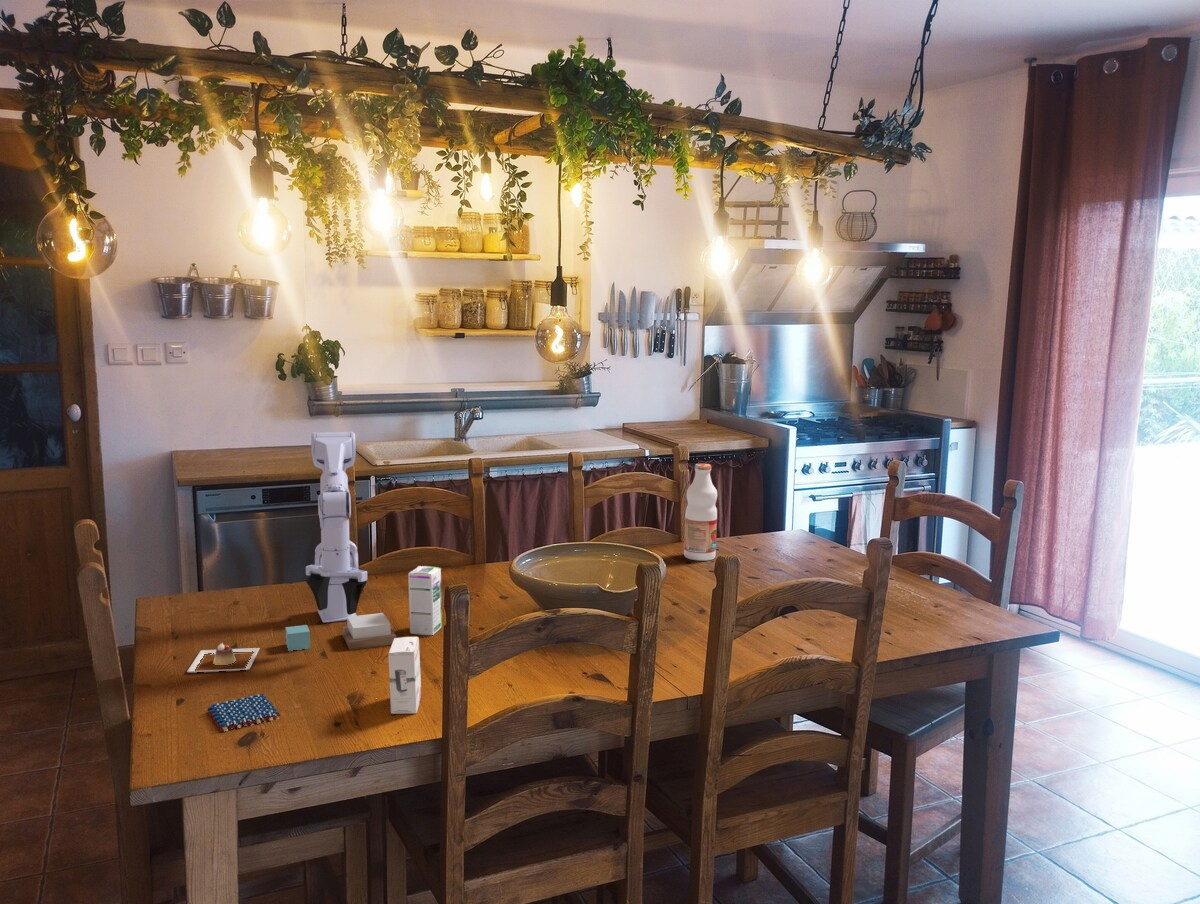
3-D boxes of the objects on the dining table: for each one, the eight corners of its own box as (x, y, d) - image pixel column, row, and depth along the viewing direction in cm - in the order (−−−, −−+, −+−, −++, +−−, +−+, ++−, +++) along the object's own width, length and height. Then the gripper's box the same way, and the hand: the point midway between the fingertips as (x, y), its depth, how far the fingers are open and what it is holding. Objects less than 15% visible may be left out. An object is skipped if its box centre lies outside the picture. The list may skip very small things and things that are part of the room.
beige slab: (342, 637, 215) (342, 626, 214) (387, 631, 219) (387, 621, 218) (349, 652, 206) (349, 641, 205) (396, 646, 210) (396, 635, 209)
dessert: (260, 652, 205) (259, 631, 204) (249, 674, 193) (248, 651, 192) (201, 655, 202) (199, 633, 202) (186, 677, 191) (185, 654, 190)
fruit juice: (679, 553, 289) (683, 462, 284) (709, 552, 291) (713, 461, 286) (689, 561, 280) (692, 467, 275) (719, 560, 282) (723, 467, 277)
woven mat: (282, 721, 172) (282, 710, 172) (221, 736, 166) (220, 725, 165) (265, 701, 180) (264, 690, 180) (206, 714, 174) (205, 703, 174)
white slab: (347, 627, 214) (347, 616, 213) (383, 623, 217) (383, 612, 217) (353, 639, 207) (353, 628, 206) (390, 635, 210) (390, 624, 209)
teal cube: (286, 644, 208) (285, 627, 207) (307, 642, 210) (307, 624, 209) (288, 651, 204) (287, 634, 203) (310, 649, 206) (309, 631, 205)
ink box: (394, 695, 183) (393, 636, 181) (421, 695, 183) (420, 635, 181) (388, 715, 174) (387, 652, 172) (416, 714, 175) (416, 652, 173)
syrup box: (433, 636, 215) (432, 573, 213) (408, 633, 216) (407, 571, 214) (442, 627, 220) (442, 566, 218) (418, 625, 222) (417, 565, 219)
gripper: (295, 548, 200) (297, 612, 202) (351, 555, 194) (353, 620, 196) (317, 542, 207) (319, 603, 208) (373, 548, 201) (374, 611, 202)
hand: (337, 611), depth 202 cm, fingers open, 7 cm apart
